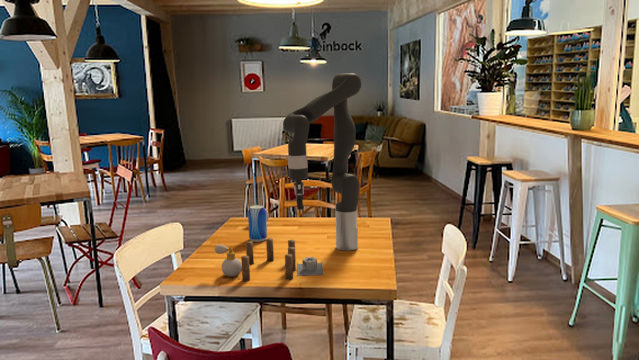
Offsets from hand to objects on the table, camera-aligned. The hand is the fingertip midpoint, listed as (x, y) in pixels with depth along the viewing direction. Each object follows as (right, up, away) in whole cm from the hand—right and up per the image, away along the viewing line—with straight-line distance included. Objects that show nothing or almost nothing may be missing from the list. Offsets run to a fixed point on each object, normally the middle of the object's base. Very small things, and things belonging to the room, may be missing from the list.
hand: (299, 206), depth 187 cm
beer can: (-21, -18, +35) cm, 45 cm away
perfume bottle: (-27, -26, -7) cm, 38 cm away
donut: (-23, -13, +59) cm, 65 cm away
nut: (+4, -24, -3) cm, 25 cm away
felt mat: (+4, -24, -3) cm, 25 cm away
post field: (-11, -25, -2) cm, 27 cm away
